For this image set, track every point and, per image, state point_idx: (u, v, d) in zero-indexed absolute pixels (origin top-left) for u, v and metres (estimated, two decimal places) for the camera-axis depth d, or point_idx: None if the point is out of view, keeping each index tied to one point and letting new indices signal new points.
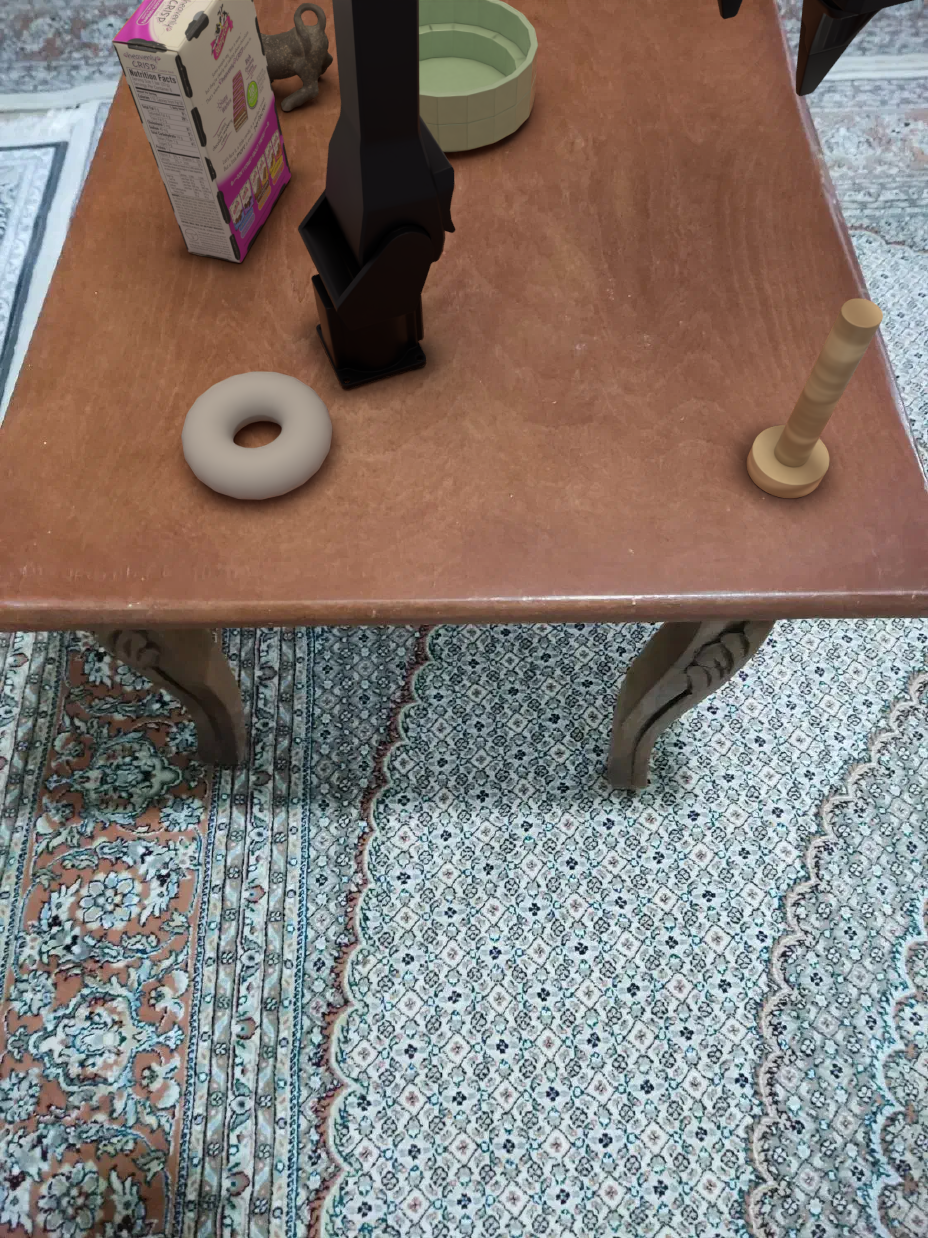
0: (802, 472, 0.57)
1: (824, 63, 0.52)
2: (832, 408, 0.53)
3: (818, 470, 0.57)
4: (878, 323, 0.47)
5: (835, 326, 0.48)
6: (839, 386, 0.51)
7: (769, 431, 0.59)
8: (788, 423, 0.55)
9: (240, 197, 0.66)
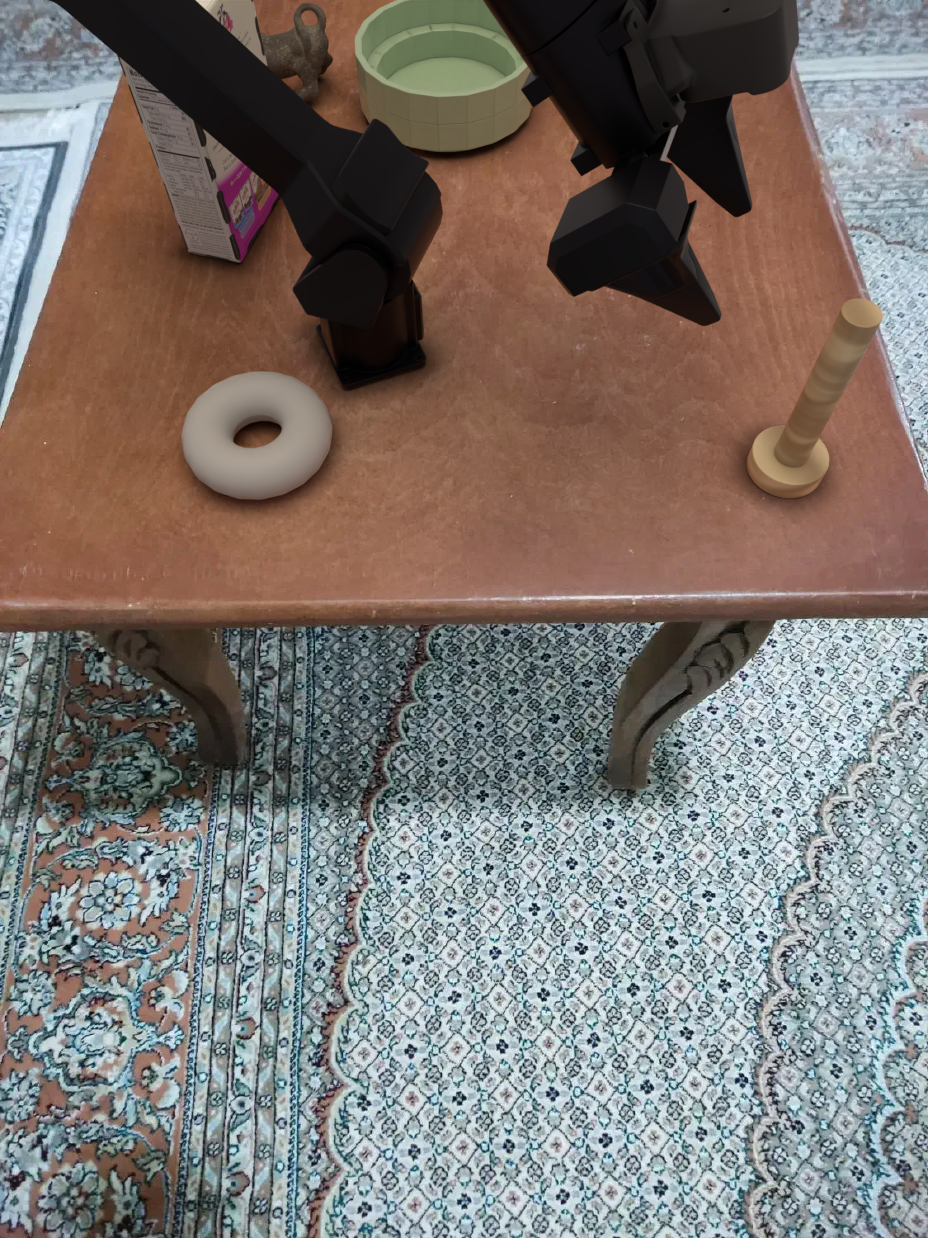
0: (802, 472, 0.57)
1: (688, 301, 0.46)
2: (832, 408, 0.53)
3: (818, 470, 0.57)
4: (878, 323, 0.47)
5: (835, 326, 0.48)
6: (839, 386, 0.51)
7: (769, 431, 0.59)
8: (788, 423, 0.55)
9: (240, 197, 0.66)
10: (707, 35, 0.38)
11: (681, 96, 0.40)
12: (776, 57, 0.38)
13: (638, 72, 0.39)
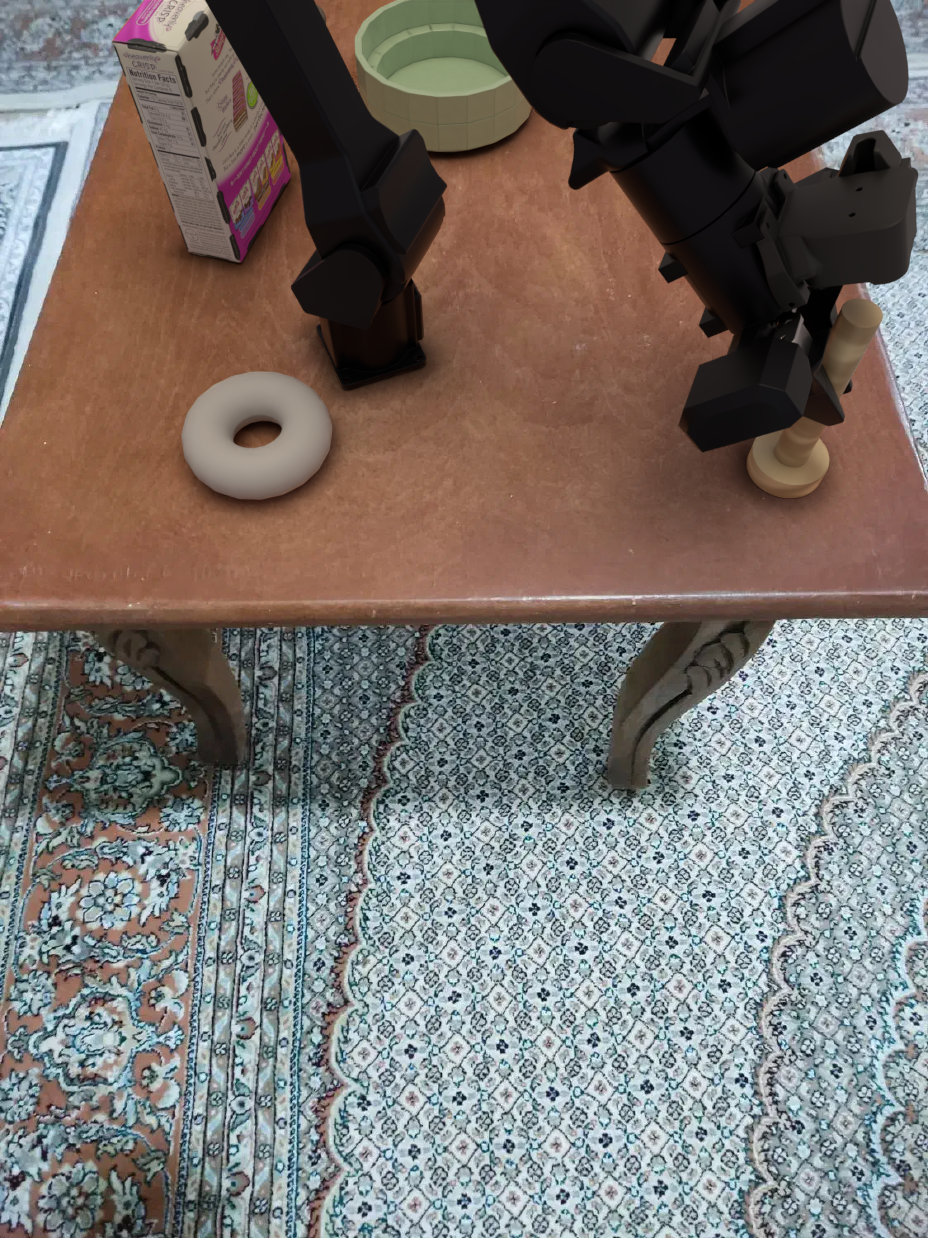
0: (802, 472, 0.57)
1: (816, 407, 0.51)
2: None
3: (818, 470, 0.57)
4: (878, 323, 0.47)
5: (834, 326, 0.48)
6: (839, 386, 0.51)
7: None
8: None
9: (240, 197, 0.66)
10: (835, 238, 0.42)
11: (806, 281, 0.45)
12: (898, 256, 0.42)
13: (768, 263, 0.44)
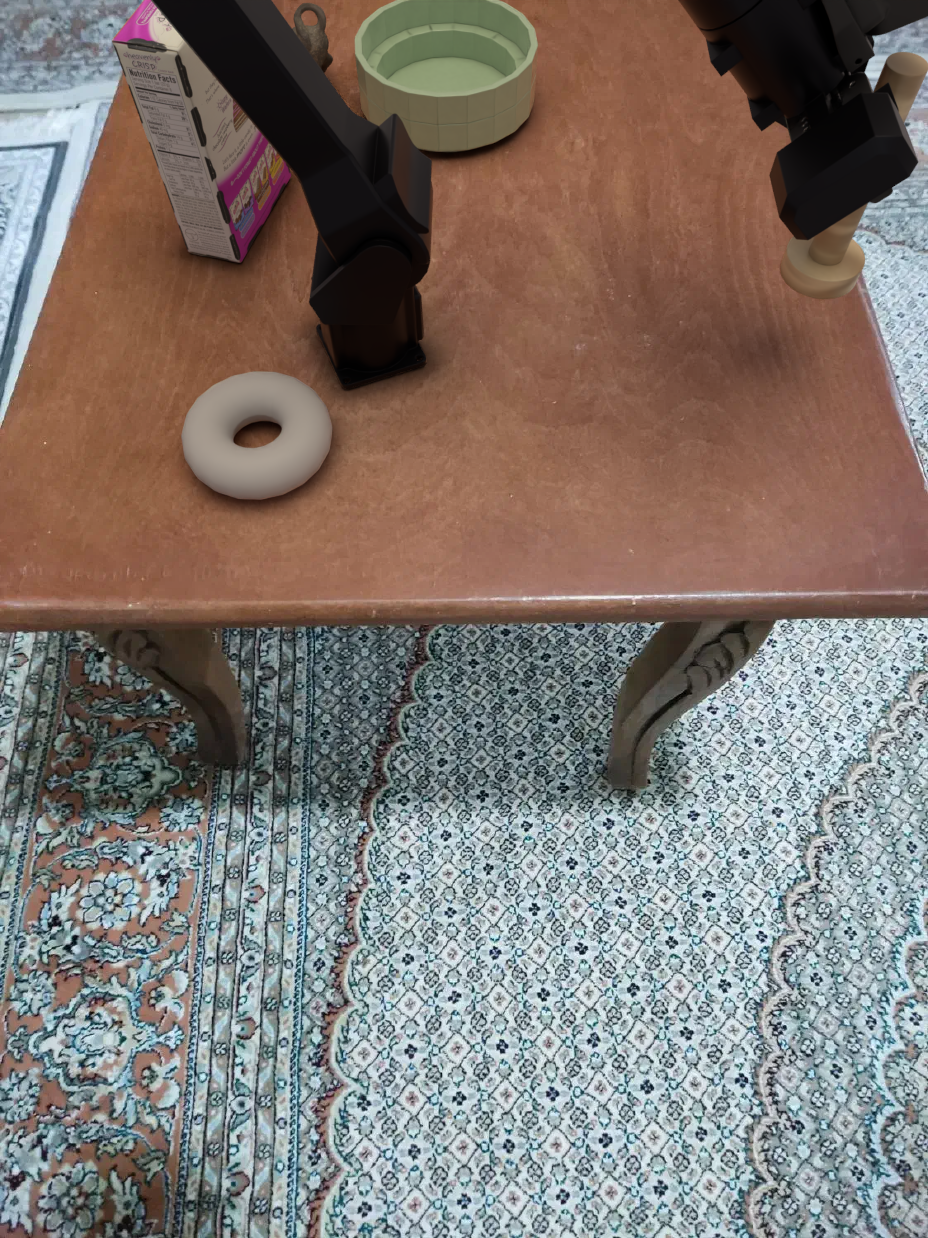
0: (845, 267, 0.56)
1: None
2: None
3: (858, 261, 0.57)
4: (927, 69, 0.46)
5: (881, 86, 0.47)
6: None
7: (795, 239, 0.58)
8: None
9: (240, 197, 0.66)
10: None
11: (868, 31, 0.43)
12: None
13: (835, 18, 0.42)
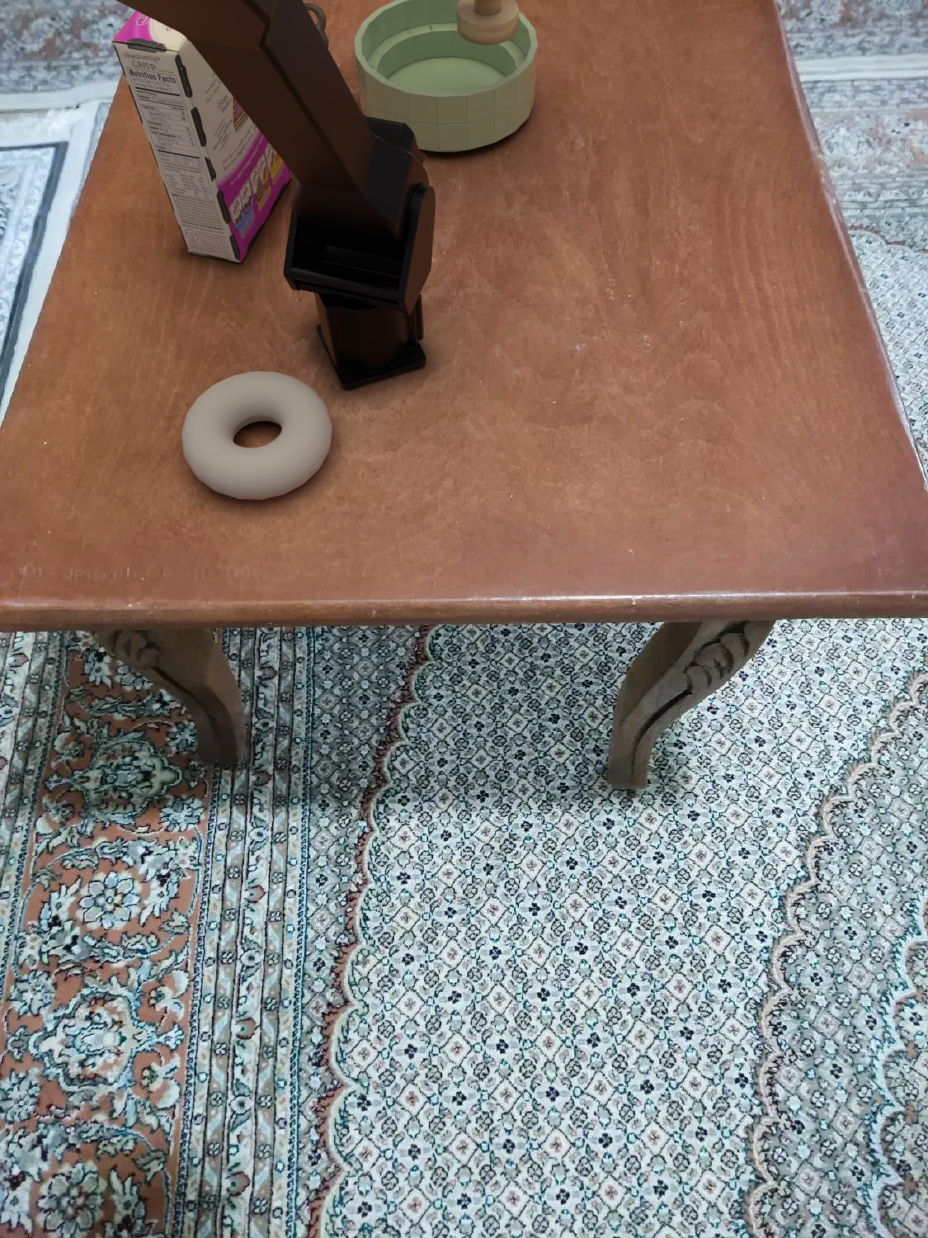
0: (505, 3, 0.71)
1: None
2: None
3: None
4: None
5: None
6: None
7: (464, 16, 0.70)
8: None
9: (240, 197, 0.66)
10: None
11: None
12: None
13: None
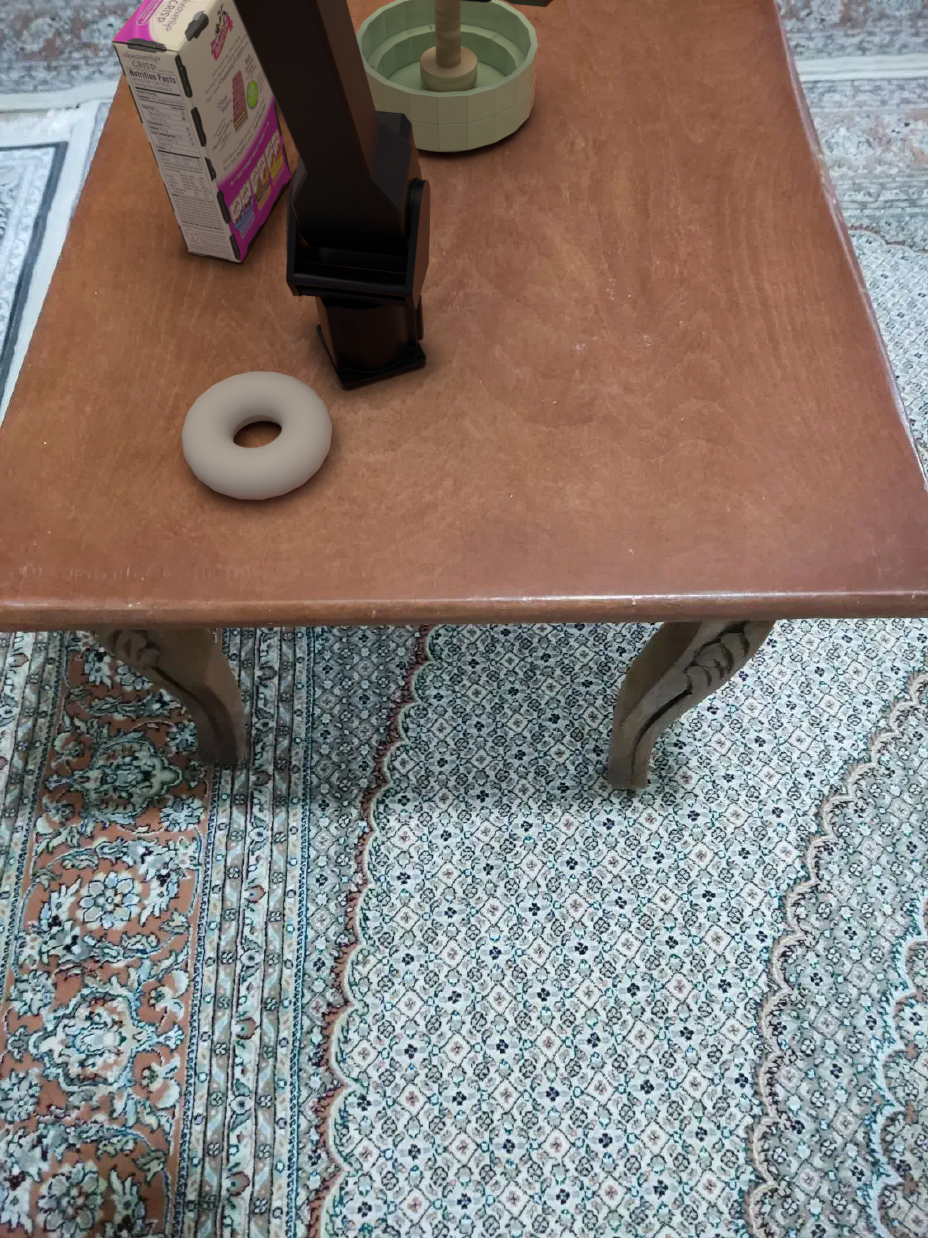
0: (464, 55, 0.77)
1: None
2: None
3: (460, 48, 0.78)
4: None
5: None
6: None
7: (429, 70, 0.76)
8: (449, 31, 0.74)
9: (240, 197, 0.66)
10: None
11: None
12: None
13: None
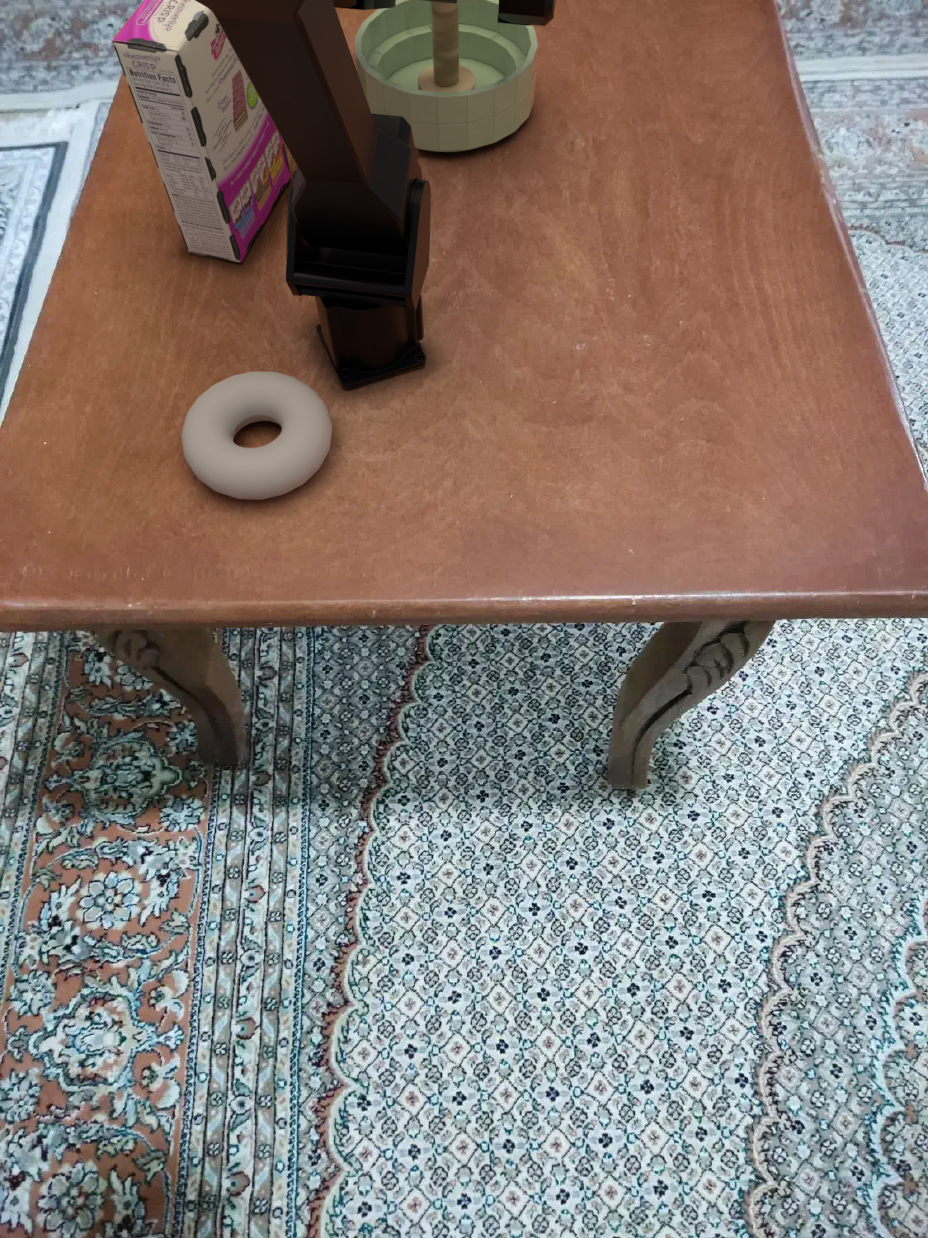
0: (462, 74, 0.77)
1: None
2: None
3: (458, 67, 0.77)
4: None
5: None
6: None
7: (427, 89, 0.76)
8: (447, 51, 0.73)
9: (240, 197, 0.66)
10: None
11: None
12: None
13: None
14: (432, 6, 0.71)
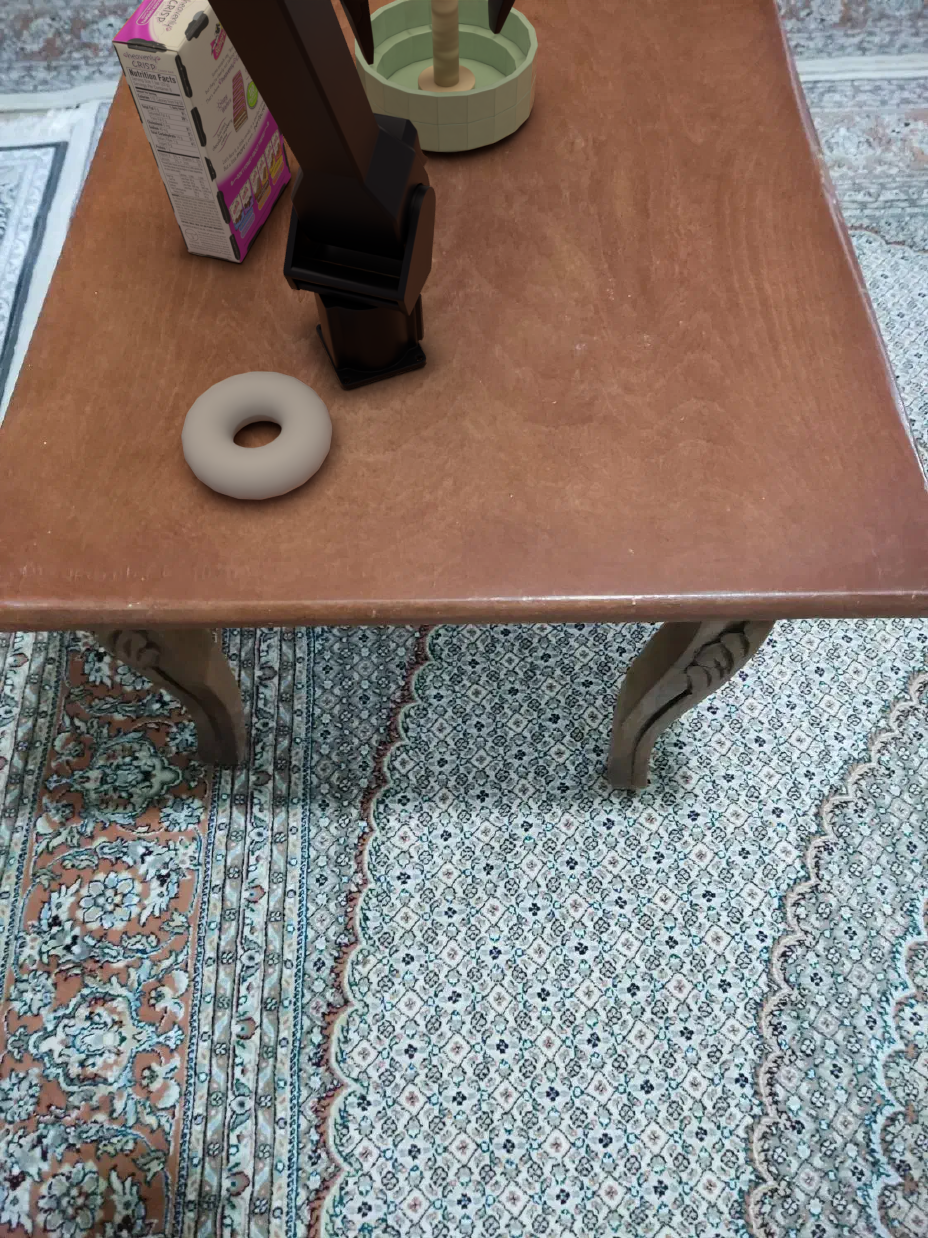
0: (462, 74, 0.77)
1: None
2: None
3: (458, 67, 0.77)
4: None
5: None
6: None
7: (427, 89, 0.76)
8: (447, 51, 0.73)
9: (240, 197, 0.66)
10: None
11: None
12: None
13: None
14: (432, 6, 0.71)
